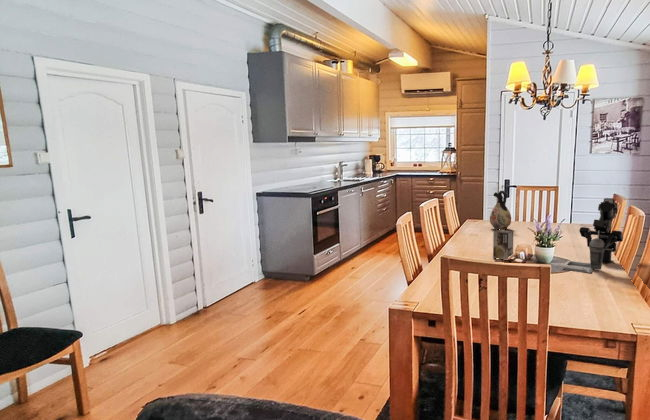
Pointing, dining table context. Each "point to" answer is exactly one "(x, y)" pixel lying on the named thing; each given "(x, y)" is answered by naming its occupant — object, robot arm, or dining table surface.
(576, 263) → the flared docking tray
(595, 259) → the beverage cup
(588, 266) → the gray raised edge tray
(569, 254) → the dining table surface
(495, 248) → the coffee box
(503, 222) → the ceramic jug
